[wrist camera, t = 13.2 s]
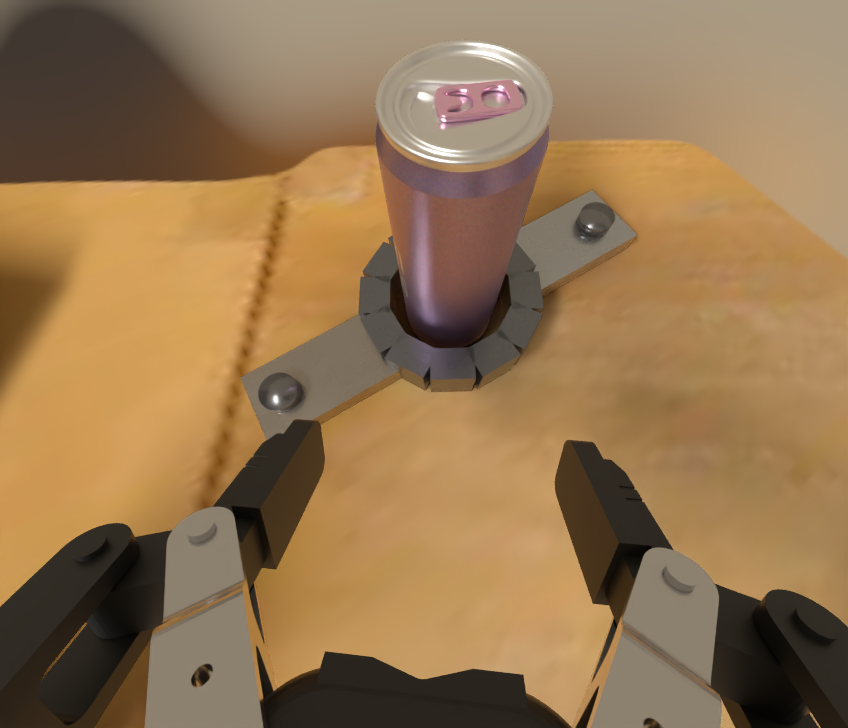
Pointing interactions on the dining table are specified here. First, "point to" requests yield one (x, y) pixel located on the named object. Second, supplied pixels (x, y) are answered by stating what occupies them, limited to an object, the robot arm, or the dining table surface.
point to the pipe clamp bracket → (415, 360)
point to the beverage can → (459, 177)
